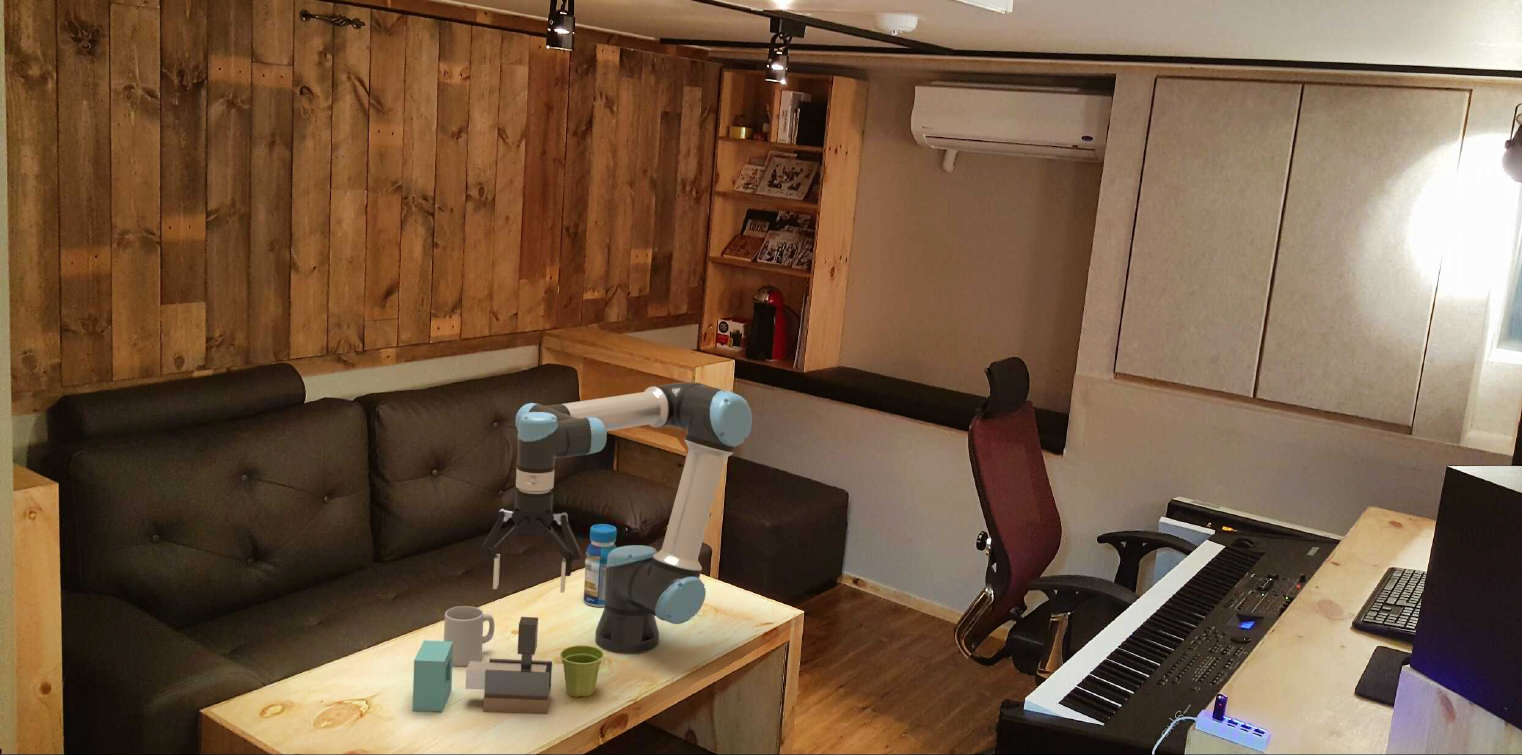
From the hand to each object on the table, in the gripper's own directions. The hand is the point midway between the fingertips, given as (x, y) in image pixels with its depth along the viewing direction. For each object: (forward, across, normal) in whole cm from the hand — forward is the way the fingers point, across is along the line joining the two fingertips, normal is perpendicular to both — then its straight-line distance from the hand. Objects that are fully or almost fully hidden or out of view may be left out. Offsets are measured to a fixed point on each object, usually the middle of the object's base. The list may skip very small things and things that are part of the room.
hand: (529, 588), depth 247 cm
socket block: (+26, -19, 0) cm, 32 cm away
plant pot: (+26, +11, +7) cm, 29 cm away
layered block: (+26, -1, 0) cm, 26 cm away
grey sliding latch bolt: (+22, -4, 0) cm, 22 cm away
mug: (+26, -15, +22) cm, 37 cm away
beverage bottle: (+26, +12, +59) cm, 66 cm away
